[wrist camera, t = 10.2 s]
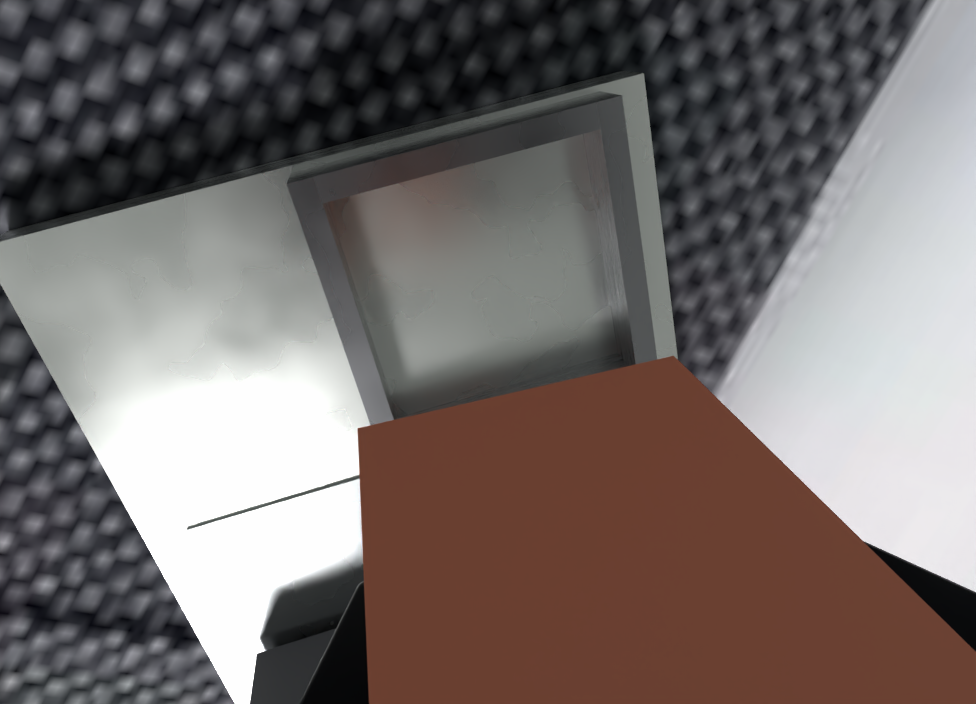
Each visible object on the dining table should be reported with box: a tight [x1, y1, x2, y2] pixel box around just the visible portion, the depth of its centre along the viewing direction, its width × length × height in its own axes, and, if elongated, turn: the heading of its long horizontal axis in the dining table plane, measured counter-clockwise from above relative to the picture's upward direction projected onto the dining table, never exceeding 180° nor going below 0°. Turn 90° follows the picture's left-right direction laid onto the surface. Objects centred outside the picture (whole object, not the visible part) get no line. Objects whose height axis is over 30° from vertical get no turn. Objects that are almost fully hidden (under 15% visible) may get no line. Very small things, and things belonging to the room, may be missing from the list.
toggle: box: [250, 629, 336, 704], centre depth 21 cm, size 3×5×3 cm, turn 103°
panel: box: [0, 71, 678, 704], centre depth 22 cm, size 24×16×3 cm, turn 13°
